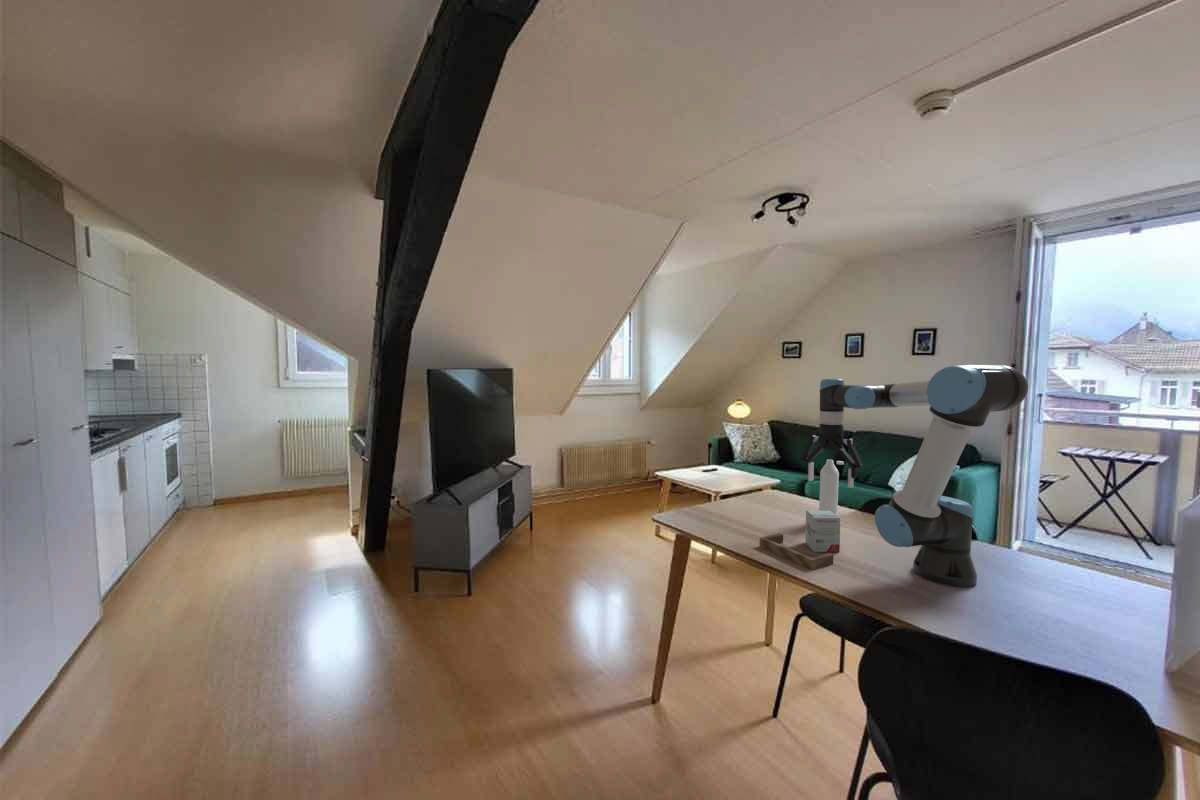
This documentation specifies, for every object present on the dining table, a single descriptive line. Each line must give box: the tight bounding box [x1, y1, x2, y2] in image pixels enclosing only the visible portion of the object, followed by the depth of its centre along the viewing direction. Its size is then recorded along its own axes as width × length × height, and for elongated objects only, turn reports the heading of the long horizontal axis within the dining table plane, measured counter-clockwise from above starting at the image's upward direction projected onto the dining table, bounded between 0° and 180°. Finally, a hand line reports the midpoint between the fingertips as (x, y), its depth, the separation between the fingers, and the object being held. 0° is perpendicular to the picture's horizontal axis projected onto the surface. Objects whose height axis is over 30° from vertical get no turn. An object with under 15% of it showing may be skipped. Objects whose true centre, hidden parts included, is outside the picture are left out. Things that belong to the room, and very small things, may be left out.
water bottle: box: [818, 458, 845, 516], centre depth 183 cm, size 9×6×25 cm
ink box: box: [805, 509, 841, 553], centre depth 161 cm, size 9×9×12 cm
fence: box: [759, 532, 835, 571], centre depth 155 cm, size 21×10×3 cm, turn 27°
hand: (830, 483), depth 167 cm, fingers open, 13 cm apart
